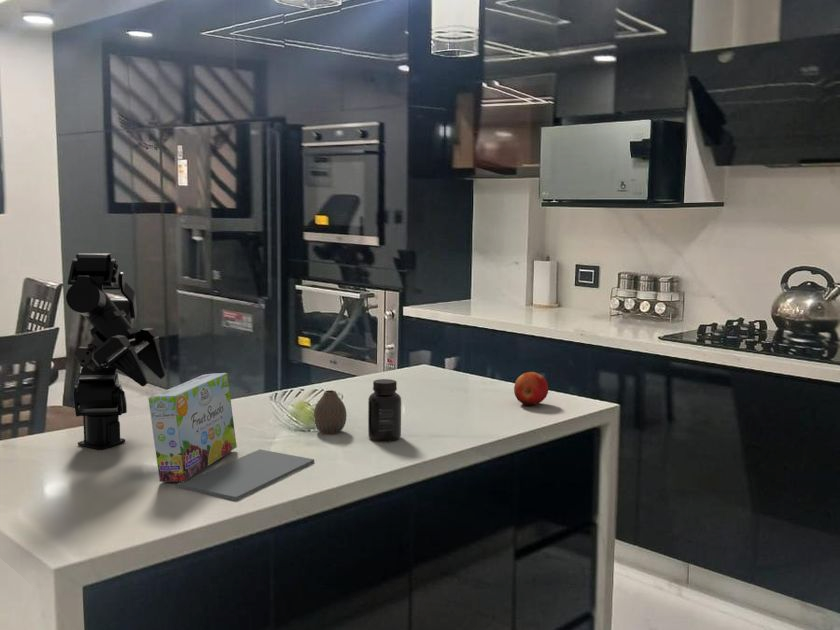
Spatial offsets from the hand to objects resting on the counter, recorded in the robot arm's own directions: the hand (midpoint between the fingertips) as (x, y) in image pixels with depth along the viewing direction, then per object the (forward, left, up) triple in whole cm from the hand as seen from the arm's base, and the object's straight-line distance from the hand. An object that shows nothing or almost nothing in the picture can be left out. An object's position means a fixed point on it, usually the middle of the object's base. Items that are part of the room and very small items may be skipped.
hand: (154, 381), depth 160 cm
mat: (+23, -2, -14) cm, 27 cm away
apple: (+50, +74, -14) cm, 90 cm away
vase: (+21, +29, -14) cm, 38 cm away
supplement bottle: (+33, +31, -14) cm, 47 cm away
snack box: (+13, -2, -14) cm, 19 cm away
